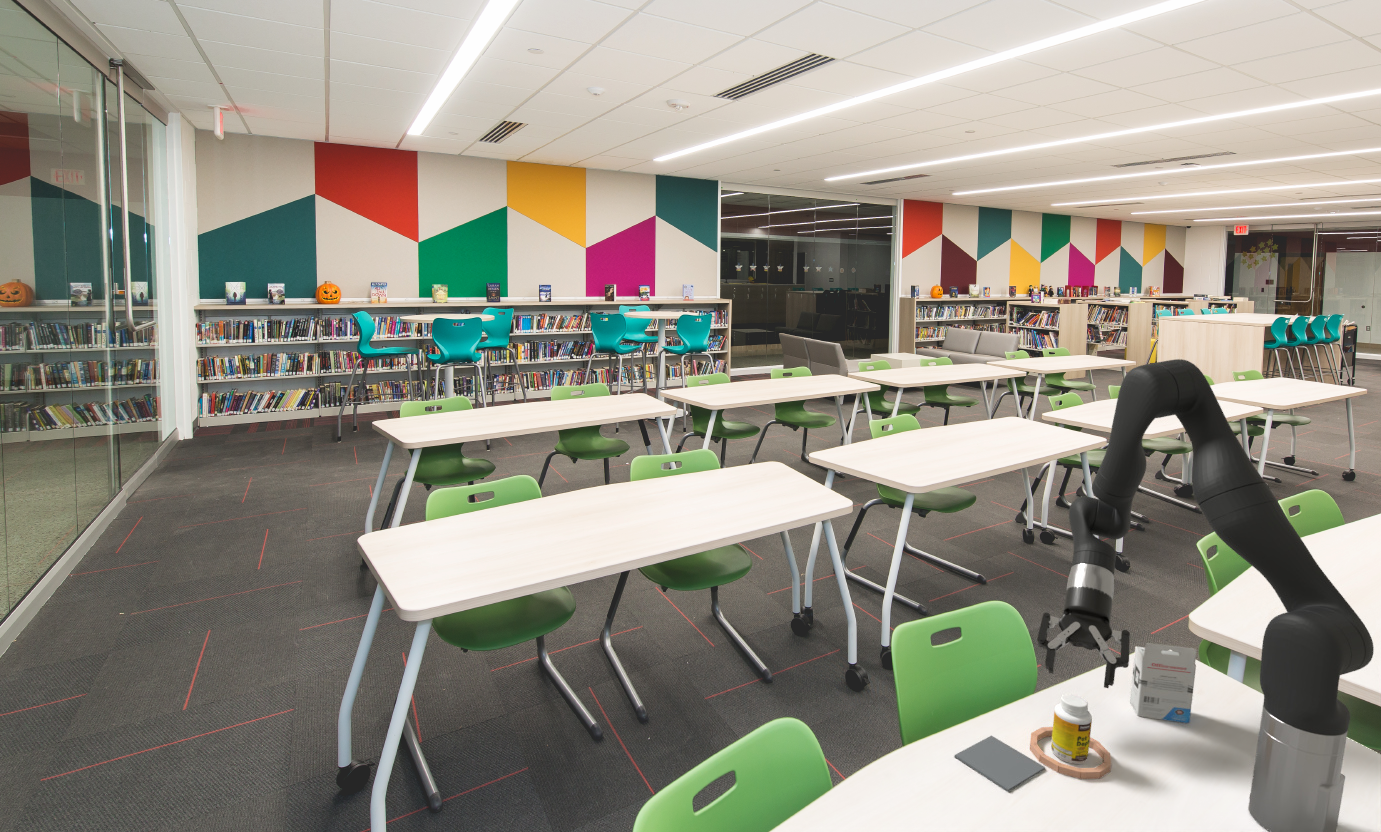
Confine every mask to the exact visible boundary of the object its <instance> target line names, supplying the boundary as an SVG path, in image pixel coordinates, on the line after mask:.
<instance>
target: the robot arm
mask: <svg viewBox="0 0 1381 832" xmlns="http://www.w3.org/2000/svg"><path fill="white" fill-rule="evenodd" d="M1115 404H1116V405H1115V410H1114V415H1113V419H1112V425H1111V430H1110V435H1109V440H1108V444H1107V448H1106V451H1105V454H1104V457H1103V459H1102V461H1101V464H1100V466H1099V468H1098V470H1097V471H1096V475H1095V477H1094V479H1093V481H1092V485H1091V491H1092V493H1093V495H1094V496H1095V497H1096V498H1095V497H1091V496H1086V495H1085V496H1084V495H1083V496H1082V495H1081V496H1078V497H1076V498H1075V499H1074V500H1073V501H1072V503H1071V504H1070V506H1069V509H1068V520H1069V525H1070V529H1071V531H1070V532H1071V535H1072V541H1073V555H1072V561H1071V568H1070V572H1069V575H1068V578H1067V585H1066V591H1065V597H1064V598H1065V599H1064V604H1063V609H1062V610H1063V611H1062V615H1061V616H1060V617H1056V616H1052V615H1051V614H1050V613H1049V612H1043V614H1042V618H1041V621H1040V626H1039V631H1038V633H1037V639H1036V640H1037V645H1038V647H1040V648H1042V649H1044V650H1046V654H1045V661H1044V666H1045V669H1046V670H1048V673H1049V674H1054V671H1055V665H1056V657H1057V652H1058V651H1059V650H1061V648H1064V647H1066V646H1067V645H1068V644H1071V645H1072V646H1073V647H1076V648H1084V649H1086V650H1089V651H1093V650H1096V651H1097V652H1098V654H1099V655H1100V656H1101V658H1102V659H1103V660H1104V661H1105V671H1104V672H1105V673H1104V681H1103V688H1104V689H1109V687H1110V686H1111V687H1113V685H1114V683H1115V674H1116V669H1117V668H1123V669H1124V668H1125V669H1126V668H1128V667H1129V663H1130V635H1131V634H1130V631H1129V630H1128V629H1122V631H1120V630H1115V629H1112V628H1111V617H1112V611H1113V609H1112V607H1113V602H1114V601H1113V600H1114V596H1115V595H1114V592H1115V591H1114V590H1115V582H1114V581H1115V580H1114V575H1115V569H1116V559H1117V553H1116V550H1115V548H1114V547H1113V546H1112V545H1111V544H1110V543H1107V542H1106V541H1104V540H1102V539H1100V538H1098V537H1101V538H1106V539H1109V540H1115V541H1116V540H1120V539H1122V538H1123V537H1125V536H1127V534H1128V533H1129V531H1130V529H1131V522H1132V507H1133V506H1132V504H1133V500H1134V498H1135V495H1136V493H1137V491H1138V489H1139V487H1140V485H1141V483H1142V481H1143V479H1144V476H1145V473H1146V471H1147V456H1146V453H1145V452H1146V451H1145V450H1144V446H1143V438H1144V435H1145V433H1146V431H1147V430H1148V428H1149V427H1150V425H1151V424H1152V422H1153V421H1154V420H1155V419H1161V418H1165V417H1171V416H1175V417H1176V418H1177V420H1179V422H1180V423H1181V425H1182V427H1183V429H1184V430H1185V432H1186V435H1187V436H1188V439H1189V441H1190V444H1191V447H1192V469H1191V471H1192V472H1191V474H1192V475H1191V487H1192V493H1193V496H1194V499H1195V501H1196V503H1197V505H1198V506H1199V508H1200V510H1201V513H1203V515H1204V517H1205V519H1206V521H1207V522H1208V523H1209V525H1210V527H1211V528H1212V530H1213V531H1214V533H1215V534H1216V535H1217V537H1218V538H1219V539H1220V540H1221V541H1222V542H1223V543H1225V544H1226V546H1228V547H1229V549H1231V550H1232V551H1234V552H1235V553H1236V554H1237V555H1238V556H1239V557H1241V558H1242V559H1243V560H1245V562H1247V563H1248V564H1250V565H1251V566H1252V567H1253V568H1254V569H1256V571H1257V572H1259V573H1260V574H1261V575H1262V576H1263V577H1264V578H1265V579H1266V581H1267V582H1268V583H1269V585H1270V586H1271V587H1272V589H1273V590H1274V592H1275V593H1276V595H1277V597H1278V598H1279V600H1280V601H1281V603H1282V605H1283V607H1284V608H1285V610H1286V611H1285V612H1283V613H1280V614H1278V615H1276V616H1274V617H1273V618H1271V620H1270V621H1269V622H1268V624H1267V626H1266V628H1265V631H1264V633H1263V637H1262V638H1263V640H1262V647H1261V655H1260V656H1261V657H1260V672H1259V685H1260V688H1261V691H1262V694H1263V702H1262V703H1263V704H1262V711H1261V718H1260V723H1259V731H1258V736H1257V737H1258V738H1257V745H1256V751H1255V759H1254V765H1253V766H1254V767H1253V771H1252V772H1253V773H1252V780H1251V786H1250V787H1251V788H1250V792H1249V793H1250V794H1249V798H1248V799H1249V800H1248V801H1249V802H1248V811H1249V815H1250V816H1251V817H1252V818H1253V820H1255V821H1256V823H1258V824H1259V825H1260V826H1261V827H1262V828H1263V829H1266V830H1267V831H1268V832H1337V830H1338V829H1337V828H1338V822H1339V817H1340V810H1341V805H1342V799H1343V793H1344V787H1345V783H1346V782H1345V780H1346V776H1345V774H1344V773H1342V770H1343V769H1342V768H1343V761H1344V756H1345V750H1346V749H1345V748H1346V743H1347V738H1348V731H1349V727H1350V720H1351V714H1350V710H1349V708H1348V706H1346V705H1345V703H1343V702H1342V701H1341V700H1339V699H1338V695H1339V693H1338V691H1339V684H1340V683H1339V682H1340V677H1341V676H1343V675H1345V674H1349V673H1352V672H1356V671H1359V670H1361V669H1363V668H1365V667H1367V665H1369V663H1370V662H1371V661H1372V659H1373V658H1374V657H1373V655H1374V650H1375V649H1374V642H1373V639H1372V637H1371V633H1370V632H1369V630H1368V629H1367V626H1366V625H1365V623H1364V622H1363V621H1362V619H1361V618H1360V616H1359V615H1358V614H1357V613H1356V611H1355V610H1354V609H1353V608H1352V606H1351V605H1350V604H1349V603H1348V601H1347V600H1346V598H1345V597H1344V596H1343V595H1342V594H1341V593H1340V591H1339V589H1337V587H1336V586H1335V584H1333V583H1332V581H1331V580H1330V579H1329V577H1328V576H1327V575H1326V574H1325V572H1323V570H1322V568H1321V567H1320V565H1319V564H1318V562H1317V561H1316V560H1315V559H1314V557H1313V555H1312V553H1311V552H1310V551H1309V549H1308V548H1307V546H1306V544H1305V543H1304V541H1303V540H1302V538H1301V537H1300V535H1299V533H1298V532H1297V531H1296V529H1295V528H1294V526H1293V525H1292V523H1291V522H1290V520H1289V518H1288V517H1287V516H1286V514H1285V512H1284V510H1283V509H1282V506H1281V505H1280V503H1279V502H1278V500H1277V498H1276V497H1275V495H1274V493H1273V492H1272V490H1271V488H1270V487H1269V486H1268V485H1267V483H1266V481H1265V479H1263V477H1262V476H1261V474H1260V473H1259V471H1258V470H1257V469H1256V467H1255V466H1254V464H1253V462H1252V461H1251V459H1250V457H1249V456H1248V454H1247V453H1246V451H1245V449H1244V448H1243V446H1242V443H1241V442H1240V441H1239V439H1238V437H1237V436H1236V434H1235V432H1234V430H1233V429H1232V427H1231V425H1230V423H1229V421H1228V420H1227V417H1226V415H1225V414H1224V411H1223V409H1222V407H1221V405H1220V403H1219V401H1218V399H1217V397H1216V395H1215V393H1214V391H1213V389H1212V387H1211V385H1210V383H1209V381H1208V379H1207V378H1206V376H1205V374H1204V373H1203V372H1202V370H1201V369H1199V367H1198V366H1197V365H1195V363H1193V362H1191V361H1190V360H1187V359H1180V358H1179V359H1178V358H1177V359H1169V360H1163V361H1158V362H1152V363H1147V364H1142V365H1138V366H1136V367H1134V368H1132V369H1130V370H1129V371H1128V372H1127V373H1126V374H1125V376H1124V377H1123V379H1122V382H1121V384H1120V388H1119V391H1118V396H1117V400H1116V403H1115ZM1056 625H1057V626H1059V628H1060V630H1061V632H1060V633H1058V634H1057V635H1056V637H1054V639H1052V640H1051V641H1049V640H1047V638H1048V635H1049V630H1050V629H1054V628H1055V626H1056ZM1111 638H1114V639H1115V642H1116V644H1118V645H1120V656H1119V657H1117V656H1116V657H1115V655H1114V654H1113V652H1112V651H1111V649H1110V647H1109V646H1108V644H1107V641H1109V640H1110V639H1111Z"/></svg>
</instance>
